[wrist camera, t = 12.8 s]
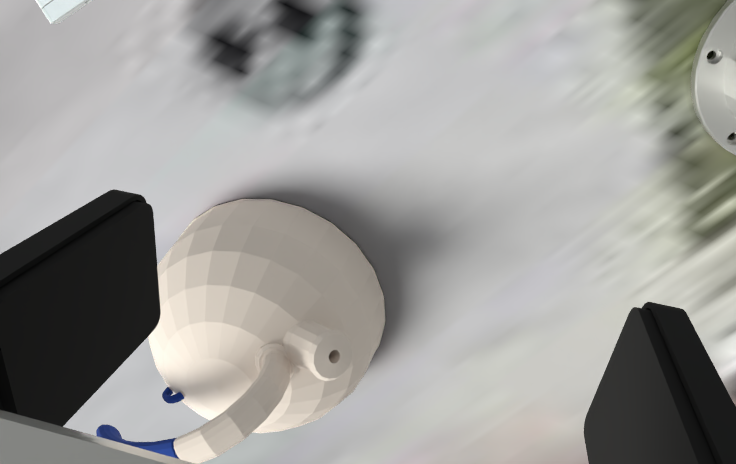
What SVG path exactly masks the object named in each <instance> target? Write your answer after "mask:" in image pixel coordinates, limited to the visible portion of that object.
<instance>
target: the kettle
mask: <svg viewBox="0 0 736 464" xmlns="http://www.w3.org/2000/svg"><path fill="white" fill-rule="evenodd" d="M157 271H158V284H159V297H160V310H161V314H160V319H159V322H158V325H157V326H156V328H155V329H154V331H153V332H152V333H151V334H150V335H149V336H148V339H149V343H150V347H151V351H152V354H153V358H154V361H155V364H156V367H157V369H158V371H159V372H160V374H161V376H162V377H163V379H164V381H165V382H166V384H167V385H168V387H169V388H168V387H167V388H166V389H165V391H164V392H163V394H162V397H163V399H164V401H166V402H167V403H176V402H179V401H182V402H184V403H185V404H186V405H187V406H189V407H190V408H191V409H193V410H194V411H195V412H196V413H198V414H199V415H201V416H203V417H205V418H207V419H208V420H210V421H209V422H207V423H206V424H204V425H203V426H201V427H200V428H198V429H196V430H193V431H191V432H189V433H187V434H185V435H182V436H180V437H178V438H173V439H168V440H162V441H157V442H131V441H126V440H124V439H122V437H121V435H120V433H119V431H118V430H117V429H116V428H115V427H113V426H110V425H101V426H99V427H98V429H97V437H101V438H105V439H108V440H112V441H116V442H119V443H123V444H126V445H130V446H134V447H137V448H141V449H145V450H148V451H152V452H155V453H159V454H163V455H166V456H170V457H173V458H177V459H180V460H184V461H187V462H191V463H195V464H199V463H202V462H204V461H207V460H210V459H213V458H215V457H218V456H220V455H221V454H223V453H224V452H226V451H227V450H229V449H230V448H232V447H234V446H235V445H237V444H238V443H240V442H241V441H243V440H244V439H245V438H246V437H248V436H249V435H250V434H251V433H252V432H255V433H267V432H277V431H283V430H287V429H291V428H295V427H299V426H302V425H304V424H307V423H309V422H312V421H315V420H317V419H320V418H321V417H322V416H324V415H325V414H326V413H328V412H329V411H330V410H331V409H333V408H334V407H335V406H337V405H338V404H339V403H340V402H341V401H343V400H344V399H345V398H346V397H347V396H348V395H350V394H351V393H352V392H353V391H354V389H355V388H356V386H357V385H358V383H359V382H360V380H361V379H362V377H363V376H364V374H365V373H366V371H367V369H368V366H369V364H370V362H371V360H372V358H373V355H374V353H375V351H376V350H377V348H378V347H379V345H380V341H381V337H382V334H383V330H384V326H385V322H386V321H385V307H384V295H383V292H382V290H381V287H380V284H379V282H378V279H377V276H376V274H375V271H374V269H373V267H372V266H371V264H370V263H369V262H368V260H367V259H366V257H365V256H364V255H363V253H362V252H361V250H360V249H359V248H358V246H357V245H356V244H355V243H354V242H353V241H352V240H351V239H350V238H348V237H347V236H346V235H345V234H344V233H343V232H342V231H340V230H339V229H338V228H337V227H336V226H335V225H334V224H332V223H331V222H329V221H327V220H325V219H323V218H322V217H320V216H318V215H316V214H314V213H312V212H310V211H308V210H306V209H305V208H303V207H299V206H295V205H291V204H287V203H284V202H280V201H276V200H272V199H240V200H236V201H232V202H229V203H225V204H221V205H218V206H214V207H213V208H211V209H210V210H208V211H206V212H205V213H203V214H202V215H200V216H199V217H197V218H196V219H194V220H193V221H192V222H191V223H190V225H189V226H188V227H187V228H186V230H185V231H184V232H183V233H182V235H181V236H180V237H179V239H178V240H177V241H176V243H175V244H174V245H173V246H172V247H171V249H170V250H169V251H168V253H167V254H166V255H165V256H164V258H163V259H162V260H161V261H160V263H159V264H158V267H157ZM173 392H174V393H175V395H172V396H171V394H173Z"/></svg>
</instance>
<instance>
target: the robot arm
mask: <svg viewBox="0 0 736 464" xmlns="http://www.w3.org/2000/svg"><path fill="white" fill-rule="evenodd" d="M710 51H713V52H714V55H713V56H712V57H711V58H709V59H707V55H708V53H709V52H710ZM691 97H692V101H693V105H694V109H695V112H696V115H697V117H698V119H699V120H700V122H701V124H702V126H703V128H704V129H705V130H706V131H707V133H708V134H709V135H710V136H711V137H712V138H713V139H714V140H715V141H716V142H717V143H718V144H719V145H721V146H722V147H723V148H724V149H726V150H727V151H729V152H731V153H733V154H735V155H736V0H727V2H726V3H725V4H724V5H723V6H722V8H721V9H720V10H719V11H718V13H717V14H716V15H715V16H714V18H713V19H712V21H711V22H710V24H709V26H708V28H707V29H706V31H705V33H704V35H703V36H702V38H701V41H700V43H699V46H698V49H697V51H696V54H695V57H694V61H693V67H692V73H691ZM733 132H734V134H733V136H732V137H731V138H728V136H729V135H730V134H731V133H733ZM160 314H161V310H160V297H159V284H158V271H157V258H156V245H155V232H154V219H153V210H152V207H151V205H149V204H147V203H146V200H145V198H144V197H143V196H142V195H138V194H133V193H129V192H124V191H119V190H111V191H108V192H107V193H105V194H103V195H101V196H100V197H98V198H96V199H94V200H93V201H91V202H89V203H88V204H86V205H84V206H82V207H81V208H79V209H77V210H76V211H74V212H72V213H70V214H69V215H67V216H65V217H64V218H62V219H60V220H58V221H57V222H55V223H53V224H52V225H50V226H48V227H46V228H45V229H43V230H41V231H40V232H38V233H36V234H34V235H33V236H31V237H29V238H28V239H26V240H24V241H22V242H21V243H19V244H17V245H16V246H14V247H12V248H10V249H9V250H7V251H5V252H4V253H2V254H0V464H195V463H191V462H187V461H184V460H180V459H177V458H173V457H170V456H166V455H163V454H159V453H155V452H152V451H148V450H145V449H141V448H137V447H134V446H130V445H126V444H123V443H119V442H116V441H112V440H108V439H105V438H101V437H97V436H94V435H90V434H86V433H83V432H79V431H76V430H72V429H68V428H65V427H63V426H64V425H65V424H66V422H67V421H68V420H69V419H70V418H71V417H72V416H73V415H74V414H75V413H76V412H77V411H78V410H79V409H80V408H81V407H82V406H83V405H84V403H85V402H86V401H87V400H88V399H89V398H90V397H91V396H92V395H93V394H94V393H95V392H96V391H97V390H98V389H99V388H100V387H101V386H102V384H103V383H104V382H105V381H106V380H107V379H108V378H109V377H110V376H111V375H112V374H113V373H114V372H115V371H116V370H117V369H118V368H119V366H120V365H121V364H122V363H123V362H124V361H125V360H126V359H127V358H128V357H129V356H130V355H131V354H132V353H133V352H134V351H135V350H136V349H137V347H138V346H139V345H140V344H141V343H142V342H143V341H144V340H145V339H146V338H147V337H148V336H149V335H150V334H151V333H152V332H153V331H154V329H155V328H156V326H157V325H158V322H159V319H160ZM584 437H585V443H586V449H587V455H588V461H589V464H736V406H735V404H734V403H733V401H732V399H731V398H730V396H729V394H728V392H727V390H726V388H725V386H724V384H723V382H722V380H721V378H720V377H719V375H718V373H717V371H716V369H715V367H714V365H713V363H712V361H711V359H710V357H709V356H708V354H707V352H706V350H705V348H704V346H703V344H702V342H701V340H700V338H699V336H698V335H697V333H696V331H695V329H694V327H693V325H692V323H691V321H690V319H689V317H688V315H687V314H686V312H685V311H684V310H683V309H680V308H675V307H671V306H666V305H661V304H656V303H652V302H647V303H645V304H644V306H643V307H642V309H641V308H637V307H634V308H633V309H632V310H631V311H630V313H629V315H628V317H627V320H626V322H625V325H624V327H623V329H622V332H621V334H620V337H619V339H618V341H617V344H616V346H615V348H614V351H613V353H612V356H611V358H610V360H609V363H608V365H607V368H606V370H605V372H604V375H603V377H602V380H601V382H600V384H599V387H598V389H597V391H596V394H595V396H594V399H593V401H592V403H591V406H590V408H589V411H588V413H587V416H586V419H585V424H584Z"/></svg>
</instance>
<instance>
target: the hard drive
mask: <svg viewBox="0 0 736 464" xmlns="http://www.w3.org/2000/svg"><path fill="white" fill-rule="evenodd" d="M35 1H36V2H37V4H38V5H39V7H40V8H41V9H42V11H43V13H44V14H45V16H46V17H47V19H48V20H49V22H50V23H51V24H59V23H60V22H62V21H63V20H65V19H66V18H68V17H69V16H71V15H72V14H74V13H75V12H77V11H78V10H80V9H81V8H83V7H84V6H85V5H87V4H88V3H90V2H91V1H93V0H35Z"/></svg>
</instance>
